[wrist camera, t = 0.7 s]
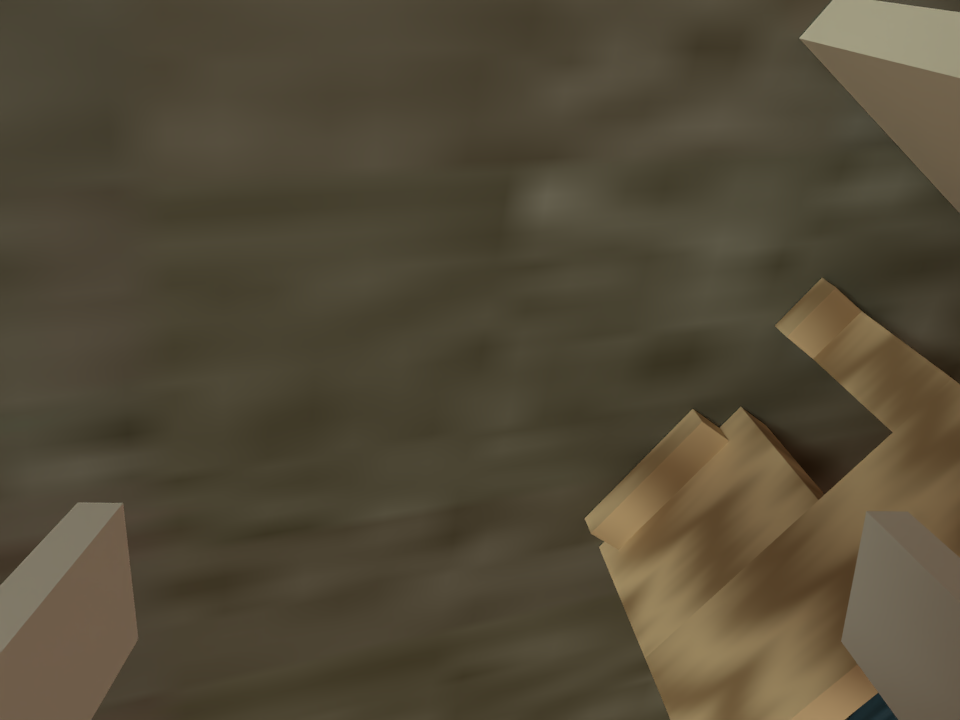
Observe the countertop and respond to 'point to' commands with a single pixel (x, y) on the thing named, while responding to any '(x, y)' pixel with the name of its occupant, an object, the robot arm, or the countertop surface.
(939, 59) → the cream board
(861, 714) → the canister
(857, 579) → the robot arm
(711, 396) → the countertop surface
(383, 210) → the countertop surface
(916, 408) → the brown angled piece
